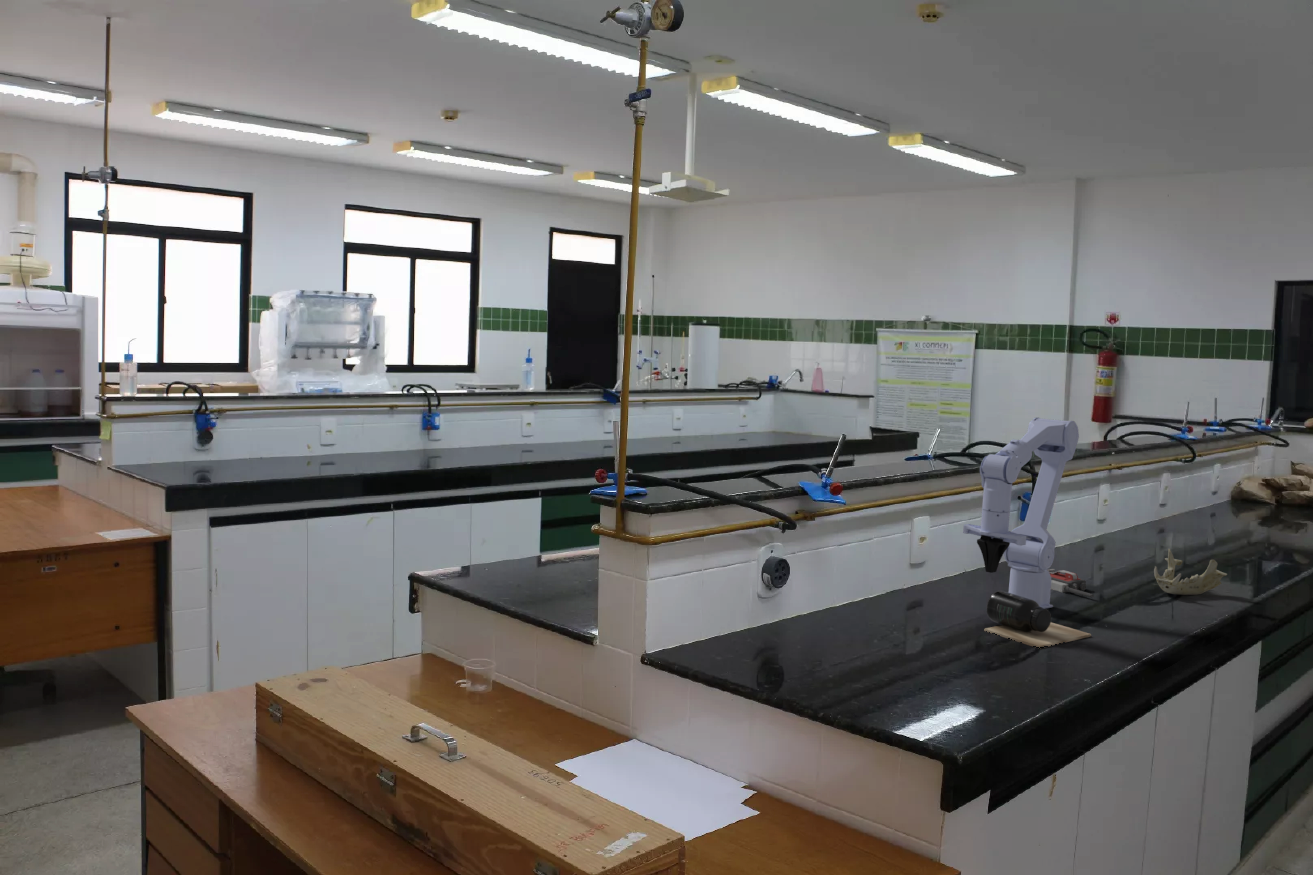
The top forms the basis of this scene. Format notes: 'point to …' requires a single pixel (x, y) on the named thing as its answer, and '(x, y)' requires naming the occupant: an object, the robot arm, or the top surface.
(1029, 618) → the supplement bottle
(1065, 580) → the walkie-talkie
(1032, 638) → the tan paper sheet
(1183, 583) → the mandible
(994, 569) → the robot arm
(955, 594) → the top surface
